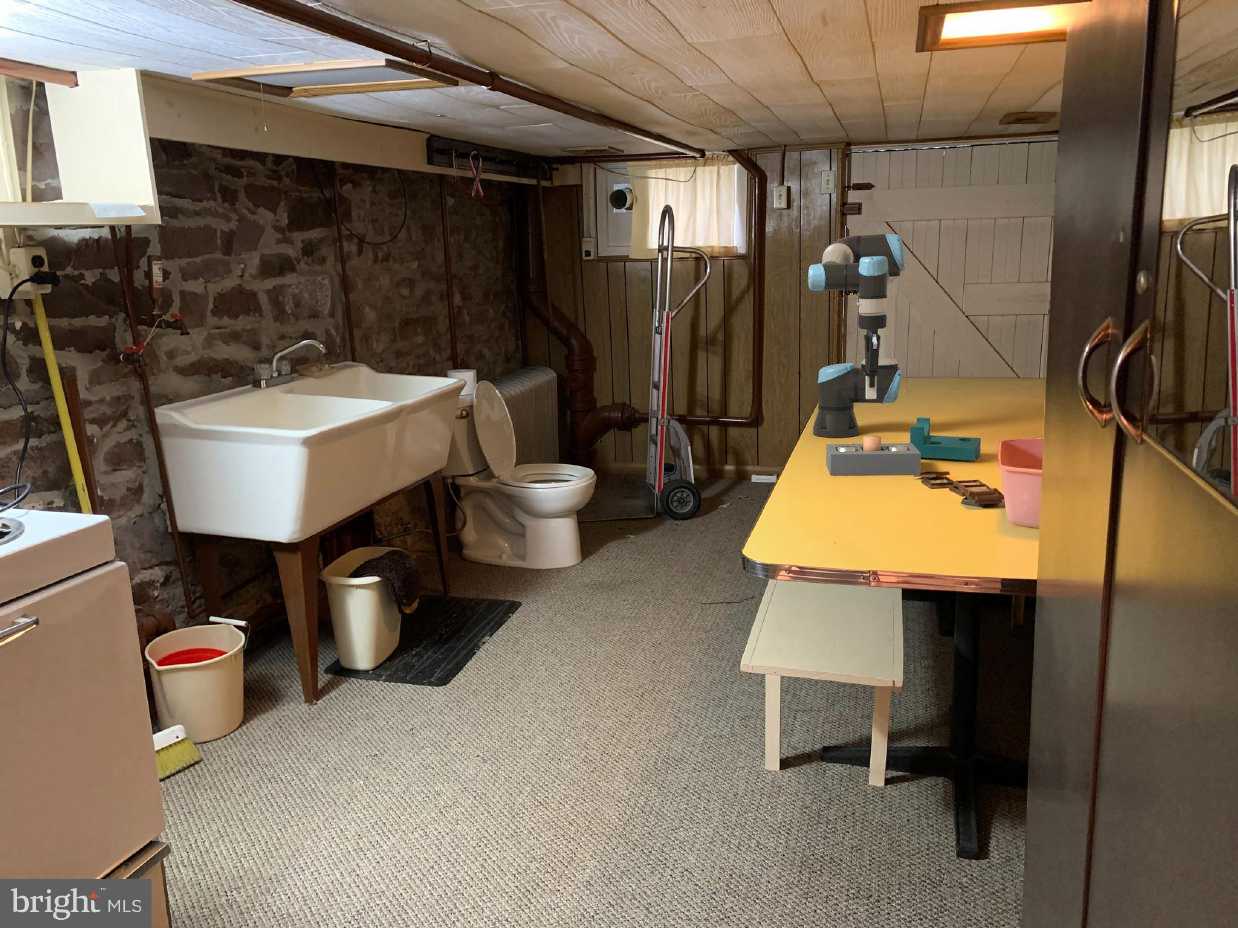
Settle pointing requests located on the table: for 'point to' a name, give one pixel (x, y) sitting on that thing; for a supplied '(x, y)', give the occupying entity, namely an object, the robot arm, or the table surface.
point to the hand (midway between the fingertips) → (870, 398)
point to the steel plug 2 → (897, 448)
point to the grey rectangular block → (873, 460)
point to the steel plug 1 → (846, 448)
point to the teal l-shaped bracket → (942, 443)
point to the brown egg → (872, 443)
